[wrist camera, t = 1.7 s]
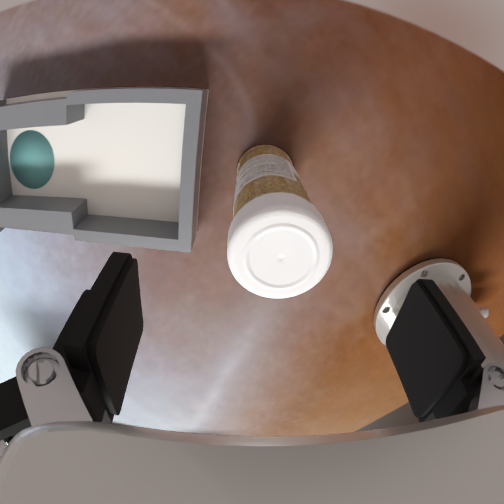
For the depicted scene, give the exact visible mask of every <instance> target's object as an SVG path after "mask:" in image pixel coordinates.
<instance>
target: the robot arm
mask: <svg viewBox="0 0 504 504" xmlns="http://www.w3.org/2000/svg"><path fill="white" fill-rule="evenodd" d="M470 295H471V281H470V278H469V276H468V273H467V272H466V271H465V270H464V269H463V267H462V266H461V265H459V264H458V263H457V262H455V261H452V260H450V259H443V258H440V259H431V260H428V261H424V262H421V263H419V264H417V265H415V266H413V267H411V268H410V269H408V270H407V271H405V272H403V273H402V274H401V275H400V276H399V277H397V278H396V279H395V280H394V281H393V282H392V283H391V284H390V285H389V287H388V288H387V289H386V290H385V292H384V293H383V295H382V296H381V298H380V300H379V302H378V304H377V306H376V309H375V313H374V328H375V331H376V333H377V336H378V338H379V339H380V341H381V342H382V343H383V344H384V345H386V347H387V349H388V351H389V354H390V356H391V358H392V361H393V363H394V365H395V368H396V370H397V372H398V375H399V377H400V380H401V382H402V385H403V387H404V390H405V392H406V395H407V397H408V400H409V402H410V405H411V408H412V410H413V413H414V415H415V416H416V417H418V419H419V422H420V423H416V424H410V425H405V426H398V427H392V428H385V429H379V430H371V431H362V432H352V433H342V434H329V435H313V436H285V437H253V436H226V435H210V434H198V433H185V432H175V431H166V430H158V429H150V428H143V427H136V426H128V425H120V424H113V423H112V421H113V417H114V414H115V415H119V414H120V411H121V407H122V403H123V399H124V395H125V392H126V388H127V384H128V380H129V377H130V373H131V369H132V366H133V362H134V359H135V355H136V352H137V349H138V345H139V342H140V338H141V335H142V332H143V316H142V307H141V298H140V287H139V276H138V263H137V259H134V258H132V256H131V254H130V253H121V252H113V253H112V254H111V256H110V257H109V259H108V261H107V262H106V264H105V266H104V267H103V269H102V271H101V272H100V274H99V276H98V278H97V279H96V281H95V283H94V285H93V286H92V288H91V290H85V291H84V292H83V294H82V295H81V297H80V299H79V300H78V302H77V304H76V306H75V308H74V309H73V311H72V313H71V315H70V317H69V318H68V320H67V322H66V324H65V326H64V328H63V330H62V331H61V333H60V335H59V337H58V339H57V341H56V343H55V345H54V347H53V349H50V348H38V349H33V350H31V351H29V352H28V353H26V354H25V355H24V356H23V357H22V358H21V359H20V361H19V362H18V364H17V368H16V377H14V378H12V379H9V380H7V381H5V382H3V383H0V504H504V345H503V343H502V342H501V340H500V339H499V338H498V336H497V335H496V333H495V332H494V330H493V329H492V328H491V326H490V325H489V323H488V322H487V321H486V319H485V318H487V317H488V314H489V310H488V308H487V307H478V306H477V305H476V304H475V302H474V301H473V300H472V298H471V297H470ZM102 421H103V422H102ZM104 422H108V423H104Z"/></svg>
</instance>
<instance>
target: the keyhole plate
mask: <svg viewBox="0 0 504 504" xmlns="http://www.w3.org/2000/svg"><path fill="white" fill-rule="evenodd" d="M208 93H209V89H197V88H175V87H115V88H94V89H80V90H68V91H58V92H49V93H41V94H34V95H27V96H21V97H15V98H9V99H3V100H0V232H1V231H2V230H3V229H4V228H13V229H23V230H32V231H42V232H51V233H61V234H71V235H74V237H75V240H77V241H86V242H95V243H105V244H114V245H123V246H132V247H142V248H151V249H161V250H170V251H180V252H189V253H191V251H192V247H193V244H194V240H195V237H196V234H197V224H198V207H199V193H200V179H201V166H202V154H203V143H204V132H205V122H206V112H207V102H208Z"/></svg>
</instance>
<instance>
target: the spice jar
mask: <svg viewBox="0 0 504 504" xmlns="http://www.w3.org/2000/svg"><path fill="white" fill-rule="evenodd" d="M233 215H234V218H233V220H232V223H231V225H230V228H229V233H228V242H227V259H228V264H229V267H230V270H231V272H232V274H233V275H234V277H235V279H236V280H237V281H238V282H239V283H240V284H241V285H242V286H243V287H244V288H246V289H247V290H249V291H250V292H252V293H255V294H257V295H260V296H263V297H267V298H288V297H293V296H296V295H299V294H301V293H304V292H306V291H307V290H309V289H311V288H312V287H313V286H315V285H316V284H317V283H318V282H319V281H320V280H321V279H322V278H323V276H324V275H325V273H326V272H327V270H328V268H329V266H330V263H331V259H332V254H333V245H332V239H331V235H330V233H329V230H328V228H327V226H326V224H325V222H324V220H323V218H322V216H321V214H320V213H319V211H318V210H317V209H316V208H315V207H314V206H313V204H311V202H310V200H309V197H308V196H307V193H306V191H305V189H304V186H303V183H302V181H301V179H300V177H299V175H298V173H297V172H296V170H295V168H294V167H293V164H292V161H291V159H290V157H289V156H288V155H287V154H286V153H285V152H284V151H283V150H281V149H279V148H277V147H275V146H272V145H259V146H255V147H253V148H251V149H249V150H248V151H247V152H245V153H244V154H243V156H242V157H241V159H240V160H239V163H238V166H237V180H236V188H235V197H234V206H233Z"/></svg>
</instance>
